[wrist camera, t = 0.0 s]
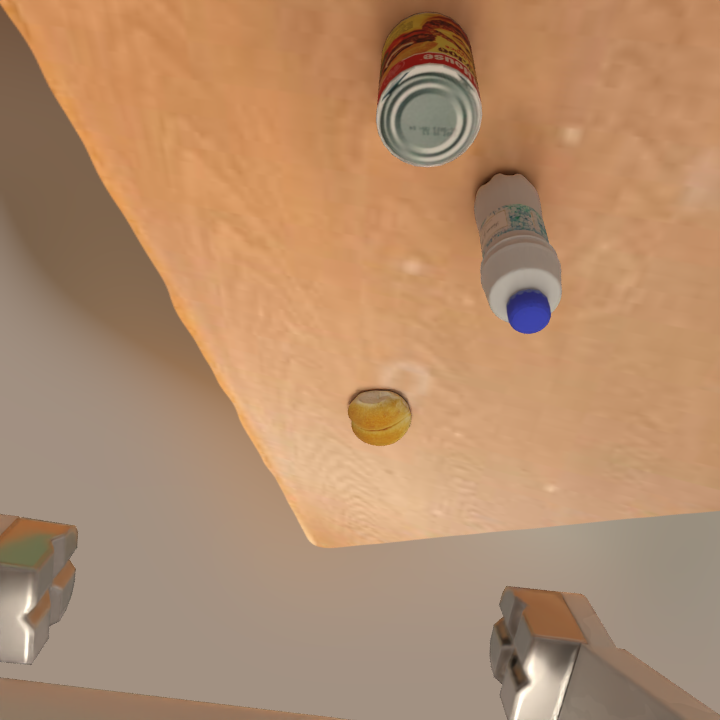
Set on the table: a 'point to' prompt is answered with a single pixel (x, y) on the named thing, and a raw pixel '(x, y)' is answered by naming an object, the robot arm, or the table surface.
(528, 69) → the table surface
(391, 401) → the bread roll
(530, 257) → the bottle
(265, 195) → the table surface
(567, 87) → the table surface
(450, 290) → the table surface
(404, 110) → the canned food
